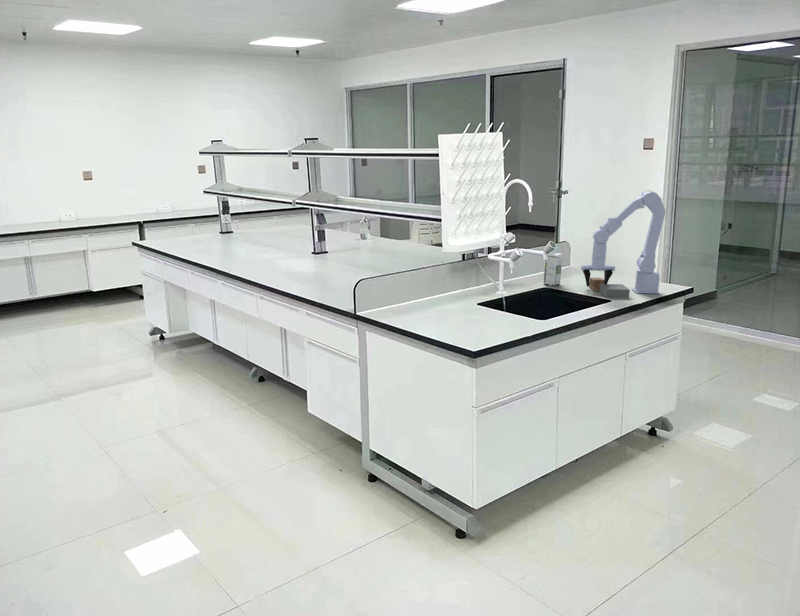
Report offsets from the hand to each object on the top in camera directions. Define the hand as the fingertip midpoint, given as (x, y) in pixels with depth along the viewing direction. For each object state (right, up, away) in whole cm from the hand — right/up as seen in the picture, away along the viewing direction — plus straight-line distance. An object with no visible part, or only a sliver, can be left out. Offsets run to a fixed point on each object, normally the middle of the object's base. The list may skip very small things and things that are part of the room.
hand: (596, 286), depth 289 cm
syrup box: (-18, +1, +10) cm, 20 cm away
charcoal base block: (+5, -4, -9) cm, 11 cm away
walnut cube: (0, -1, 0) cm, 2 cm away
